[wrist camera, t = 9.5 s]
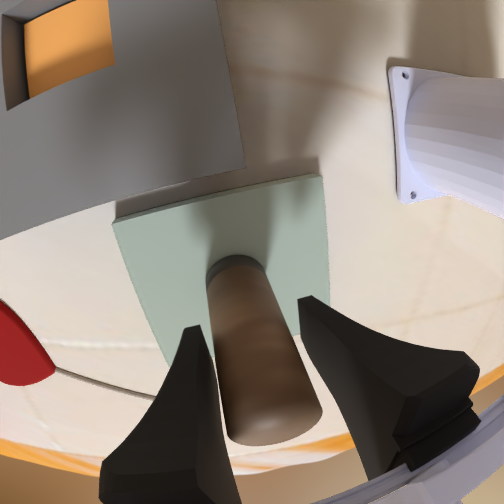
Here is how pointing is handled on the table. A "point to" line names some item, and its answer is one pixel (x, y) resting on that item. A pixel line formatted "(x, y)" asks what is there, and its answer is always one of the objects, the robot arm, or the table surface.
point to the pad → (226, 251)
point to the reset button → (67, 44)
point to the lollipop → (32, 356)
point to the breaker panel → (115, 112)
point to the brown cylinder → (256, 357)
